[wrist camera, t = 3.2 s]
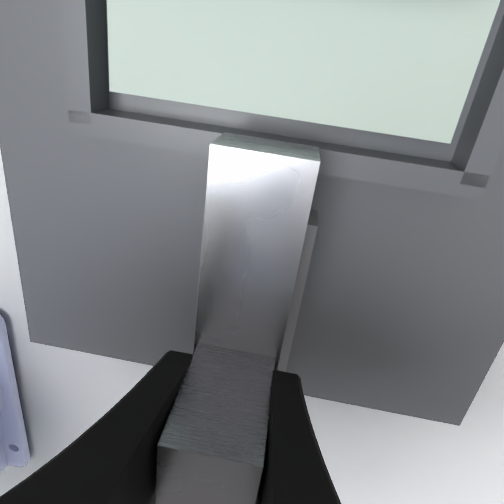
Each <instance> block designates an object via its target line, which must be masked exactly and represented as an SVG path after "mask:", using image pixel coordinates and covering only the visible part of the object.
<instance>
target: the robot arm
mask: <svg viewBox="0 0 504 504" xmlns="http://www.w3.org/2000/svg"><path fill="white" fill-rule="evenodd" d="M192 357H193V354H188V353H183V352H178V351H173V350H170V351H168V352H166V353H165V354H164V355H163V357H162V358H161V359H160V360H159V361H158V362H157V363H156V364H155V365H154V367H153V368H152V369H151V370H150V371H149V372H148V373H147V374H146V375H145V376H144V377H143V378H142V379H141V380H140V381H139V382H138V383H137V384H136V385H135V386H134V387H133V388H132V389H131V390H130V391H129V392H128V393H127V394H126V395H125V396H124V397H123V398H122V399H121V400H120V401H119V402H118V403H117V404H116V405H115V406H114V407H113V408H111V409H110V410H109V411H108V412H107V413H106V414H105V415H104V416H103V417H102V418H100V419H99V420H98V421H97V422H96V423H95V424H94V425H92V426H91V427H90V428H89V429H88V430H87V431H85V432H84V433H83V434H82V435H81V436H80V437H79V438H77V439H76V440H75V441H74V442H73V443H71V444H70V445H69V446H68V447H67V448H65V449H64V450H63V451H62V452H60V453H59V454H58V455H57V456H55V457H54V458H53V459H51V460H50V461H49V462H48V463H46V464H45V465H44V466H42V467H41V468H40V469H38V470H37V471H36V472H34V473H33V474H32V475H30V476H29V477H28V478H26V479H25V480H23V481H22V482H21V483H19V484H18V485H16V486H15V487H13V488H12V489H11V490H9V491H8V492H6V493H5V494H3V495H2V496H1V497H0V504H155V502H156V471H157V445H158V442H159V440H160V437H161V435H162V432H163V430H164V427H165V425H166V422H167V420H168V417H169V415H170V412H171V410H172V407H173V405H174V402H175V400H176V397H177V395H178V392H179V389H180V387H181V384H182V382H183V380H184V377H185V375H186V372H187V370H188V367H189V365H190V362H191V360H192ZM29 460H30V453H29V447H28V442H27V437H26V431H25V426H24V421H23V415H22V410H21V404H20V399H19V394H18V388H17V383H16V378H15V372H14V367H13V362H12V356H11V351H10V346H9V340H8V335H7V329H6V324H5V321H4V318H3V317H2V316H1V315H0V473H1V472H2V470H3V469H4V468H5V466H6V465H12V466H16V467H23V466H25V465H26V464H27V463H28V461H29ZM255 504H341V502H340V500H339V497H338V495H337V492H336V490H335V487H334V485H333V483H332V480H331V478H330V475H329V473H328V470H327V467H326V465H325V462H324V459H323V457H322V454H321V451H320V448H319V445H318V442H317V439H316V436H315V433H314V430H313V427H312V424H311V421H310V417H309V414H308V410H307V406H306V402H305V398H304V394H303V389H302V384H301V378H300V377H299V376H298V374H294V373H289V372H283V371H278V370H273V374H272V383H271V391H270V399H269V420H268V428H267V437H266V446H265V455H264V464H263V470H262V475H261V479H260V484H259V488H258V493H257V497H256V502H255Z"/></svg>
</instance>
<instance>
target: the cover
mask: <svg viewBox="0 0 504 504" xmlns="http://www.w3.org/2000/svg"><path fill="white" fill-rule="evenodd" d="M499 3H500V0H107V24H108V57H109V90H110V91H111V92H117V93H124V94H130V95H137V96H143V97H150V98H156V99H163V100H169V101H176V102H182V103H189V104H195V105H202V106H208V107H215V108H221V109H228V110H234V111H241V112H247V113H254V114H260V115H267V116H273V117H280V118H286V119H293V120H299V121H306V122H312V123H319V124H325V125H332V126H338V127H345V128H351V129H358V130H364V131H371V132H377V133H384V134H390V135H397V136H403V137H410V138H416V139H423V140H429V141H436V142H442V143H449V144H450V143H451V140H452V138H453V135H454V132H455V129H456V126H457V123H458V120H459V118H460V115H461V112H462V109H463V106H464V103H465V100H466V98H467V95H468V92H469V89H470V86H471V83H472V80H473V77H474V75H475V72H476V69H477V66H478V63H479V60H480V57H481V55H482V52H483V49H484V46H485V43H486V40H487V37H488V35H489V32H490V29H491V26H492V23H493V20H494V17H495V15H496V12H497V9H498V6H499Z"/></svg>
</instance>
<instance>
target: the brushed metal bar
mask: <svg viewBox="0 0 504 504" xmlns="http://www.w3.org/2000/svg"><path fill="white" fill-rule="evenodd" d="M319 166H320V153H319V147H316V146H310V145H303V144H297V143H291V142H284V141H278V140H272V139H265V138H259V137H253V136H246V135H240V134H233V133H227V132H224V133H223V134H222V135H220V136H219V137H218V138H217V139H216V140H214V141H213V142H212V143H211V144H210V150H209V163H208V175H207V188H206V200H205V213H204V225H203V238H202V250H201V263H200V275H199V288H198V300H197V313H196V325H195V338H194V350H193V357H192V360H191V362H190V365H189V367H188V370H187V372H186V375H185V377H184V380H183V382H182V384H181V387H180V389H179V392H178V395H177V397H176V400H175V402H174V405H173V407H172V410H171V412H170V415H169V417H168V420H167V422H166V425H165V427H164V430H163V432H162V435H161V437H160V440H159V442H158V445H157V471H156V502H155V504H255V502H256V497H257V493H258V488H259V484H260V479H261V475H262V470H263V464H264V455H265V446H266V437H267V428H268V420H269V399H270V391H271V383H272V374H273V370H277V368H278V363H279V359H280V354H281V349H282V344H283V339H284V335H285V330H286V325H287V320H288V315H289V311H290V306H291V301H292V296H293V291H294V286H295V282H296V277H297V272H298V267H299V262H300V258H301V253H302V248H303V243H304V238H305V234H306V229H307V224H308V219H309V214H310V210H311V205H312V200H313V195H314V190H315V186H316V181H317V176H318V171H319Z"/></svg>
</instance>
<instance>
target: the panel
mask: <svg viewBox="0 0 504 504" xmlns="http://www.w3.org/2000/svg"><path fill="white" fill-rule="evenodd" d="M224 132H227V133H233V134H240V135H246V136H253V137H259V138H265V139H272V140H278V141H284V142H291V143H297V144H303V145H310V146H316V147H319V153H320V166H319V171H318V176H317V181H316V186H315V190H314V195H313V200H312V205H311V210H310V214H309V219H308V224H307V229H306V234H305V238H304V243H303V248H302V253H301V258H300V262H299V267H298V272H297V277H296V282H295V286H294V291H293V296H292V301H291V306H290V311H289V315H288V320H287V325H286V330H285V335H284V339H283V344H282V349H281V354H280V359H279V363H278V368H277V370H278V371H283V372H289V373H294V374H298V376H299V377H300V378H301V384H302V389H303V394H304V395H306V396H311V397H316V398H321V399H326V400H331V401H336V402H341V403H347V404H352V405H357V406H362V407H367V408H372V409H377V410H382V411H387V412H392V413H398V414H403V415H408V416H413V417H418V418H423V419H428V420H433V421H438V422H444V423H449V424H454V425H459V426H460V424H461V422H462V420H463V418H464V416H465V414H466V412H467V410H468V408H469V407H470V405H471V403H472V401H473V399H474V397H475V395H476V393H477V391H478V389H479V388H480V386H481V384H482V382H483V380H484V378H485V376H486V374H487V372H488V370H489V368H490V367H491V365H492V363H493V361H494V359H495V357H496V355H497V353H498V351H499V349H500V348H501V346H502V344H503V342H504V0H500V3H499V6H498V9H497V12H496V15H495V17H494V20H493V23H492V26H491V29H490V32H489V35H488V37H487V40H486V43H485V46H484V49H483V52H482V55H481V57H480V60H479V63H478V66H477V69H476V72H475V75H474V77H473V80H472V83H471V86H470V89H469V92H468V95H467V98H466V100H465V103H464V106H463V109H462V112H461V115H460V118H459V120H458V123H457V126H456V129H455V132H454V135H453V138H452V140H451V143H450V144H449V143H442V142H436V141H429V140H423V139H416V138H410V137H403V136H397V135H390V134H384V133H377V132H371V131H364V130H358V129H351V128H345V127H338V126H332V125H325V124H319V123H312V122H306V121H299V120H293V119H286V118H280V117H273V116H267V115H260V114H254V113H247V112H241V111H234V110H228V109H221V108H215V107H208V106H202V105H195V104H189V103H182V102H176V101H169V100H163V99H156V98H150V97H143V96H137V95H130V94H124V93H117V92H111V91H110V90H109V57H108V24H107V0H0V148H1V155H2V161H3V168H4V174H5V181H6V187H7V194H8V200H9V206H10V213H11V219H12V226H13V232H14V239H15V245H16V251H17V258H18V264H19V271H20V277H21V284H22V290H23V296H24V303H25V309H26V316H27V322H28V329H29V335H30V342H35V343H40V344H46V345H51V346H56V347H61V348H66V349H71V350H76V351H81V352H86V353H91V354H97V355H102V356H107V357H112V358H117V359H122V360H127V361H132V362H137V363H142V364H148V365H153V366H154V365H155V364H156V363H157V362H158V361H159V360H160V359H161V358H162V357H163V355H164V354H165V353H166V352H168V351H170V350H173V351H178V352H183V353H188V354H193V350H194V338H195V325H196V313H197V300H198V288H199V275H200V263H201V250H202V238H203V225H204V213H205V200H206V188H207V175H208V163H209V150H210V144H211V143H212V142H213V141H214V140H216V139H217V138H218V137H219V136H220V135H222V134H223V133H224Z"/></svg>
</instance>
